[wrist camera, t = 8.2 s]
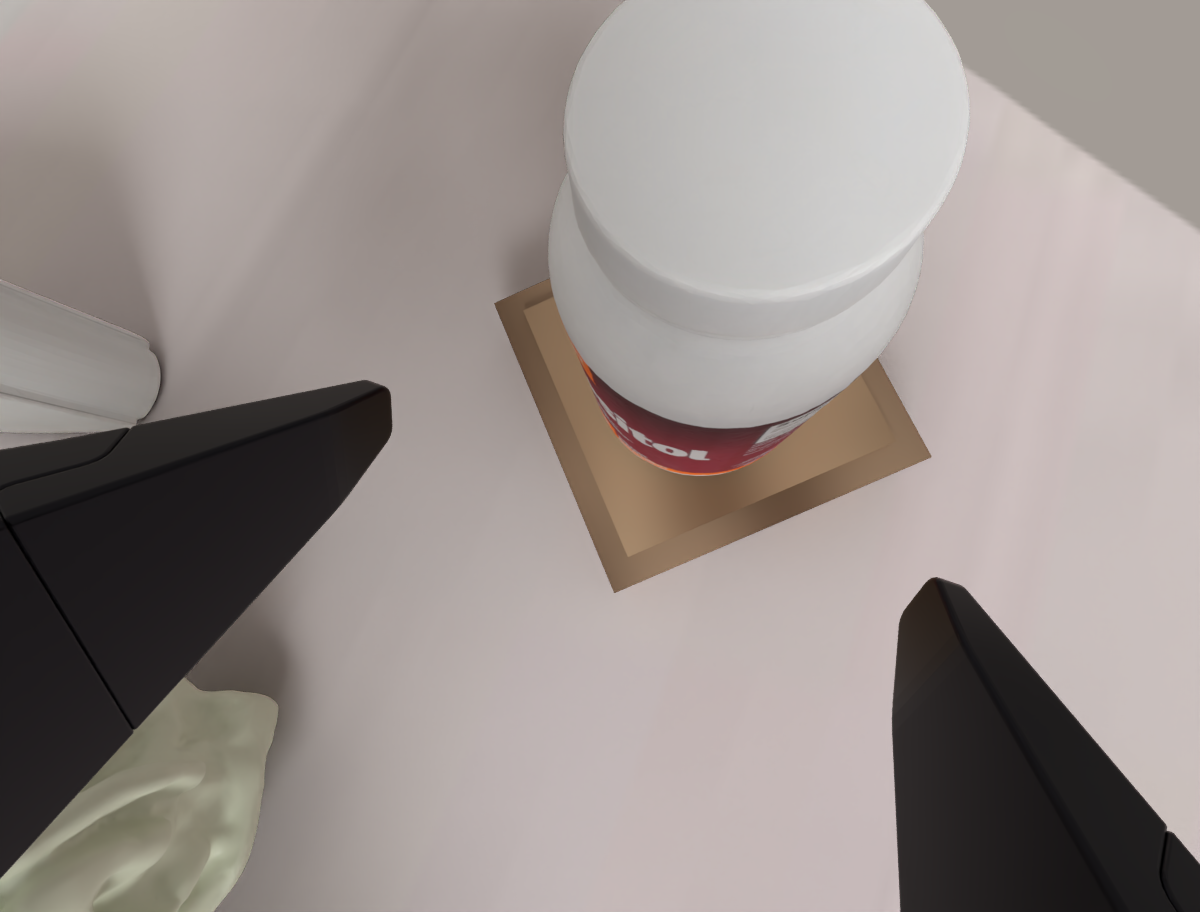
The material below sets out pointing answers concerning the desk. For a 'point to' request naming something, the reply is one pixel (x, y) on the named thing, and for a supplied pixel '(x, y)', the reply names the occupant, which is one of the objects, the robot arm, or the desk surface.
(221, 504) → the robot arm
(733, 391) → the pill bottle
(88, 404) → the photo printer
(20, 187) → the desk surface
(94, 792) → the wavy plaster lump
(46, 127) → the desk surface
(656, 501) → the plinth
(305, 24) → the desk surface
